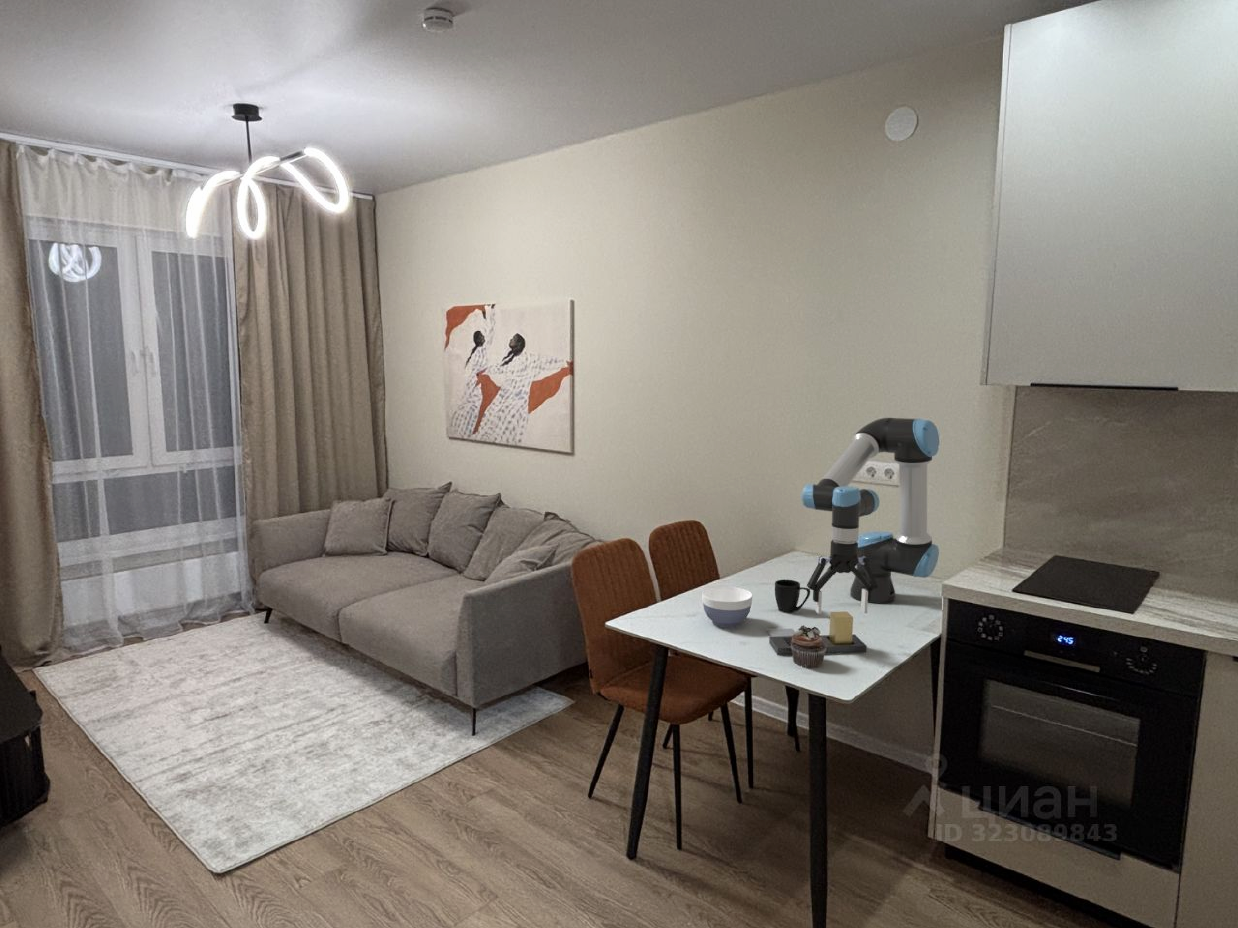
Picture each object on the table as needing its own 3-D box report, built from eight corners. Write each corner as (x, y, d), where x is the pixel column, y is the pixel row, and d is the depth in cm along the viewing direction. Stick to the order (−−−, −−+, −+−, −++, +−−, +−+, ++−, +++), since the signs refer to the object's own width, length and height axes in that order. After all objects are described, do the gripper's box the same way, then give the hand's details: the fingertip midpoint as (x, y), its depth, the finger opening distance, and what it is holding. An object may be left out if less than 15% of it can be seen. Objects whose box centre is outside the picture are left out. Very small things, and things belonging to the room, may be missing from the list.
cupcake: (787, 666, 207) (788, 631, 206) (793, 653, 216) (794, 620, 215) (823, 671, 204) (825, 636, 203) (827, 658, 213) (828, 624, 212)
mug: (803, 618, 246) (804, 590, 244) (769, 610, 253) (770, 583, 252) (813, 611, 252) (814, 584, 251) (781, 604, 259) (781, 577, 258)
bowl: (755, 617, 247) (755, 589, 246) (747, 633, 232) (747, 604, 231) (707, 612, 252) (708, 584, 251) (696, 628, 237) (697, 598, 236)
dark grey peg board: (854, 640, 226) (854, 634, 226) (866, 652, 217) (866, 645, 217) (769, 643, 224) (769, 636, 224) (777, 654, 215) (777, 648, 215)
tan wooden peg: (845, 643, 224) (846, 611, 222) (851, 650, 219) (853, 617, 217) (829, 644, 223) (830, 611, 222) (834, 650, 218) (836, 617, 217)
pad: (792, 630, 235) (792, 628, 235) (800, 639, 227) (800, 637, 227) (767, 630, 234) (767, 629, 234) (774, 640, 226) (774, 638, 226)
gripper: (881, 537, 221) (877, 607, 224) (797, 538, 220) (795, 608, 222) (892, 543, 214) (888, 615, 216) (805, 544, 212) (803, 616, 215)
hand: (841, 612), depth 219 cm, fingers open, 13 cm apart
